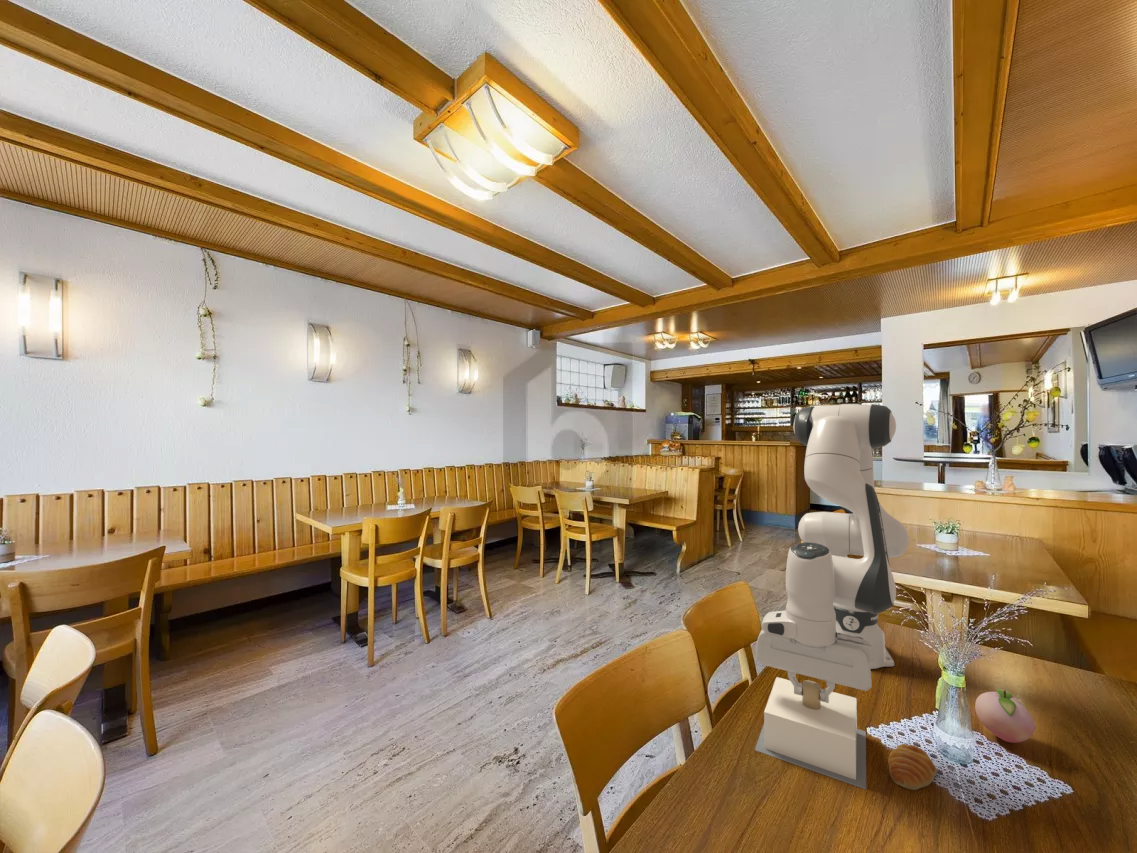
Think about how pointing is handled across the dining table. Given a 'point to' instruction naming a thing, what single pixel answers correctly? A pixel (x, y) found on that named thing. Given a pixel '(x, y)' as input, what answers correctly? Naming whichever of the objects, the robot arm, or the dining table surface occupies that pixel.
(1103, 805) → the dining table surface
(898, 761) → the pastry
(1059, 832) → the dining table surface
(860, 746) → the mat
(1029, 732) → the decorative fruit
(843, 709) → the cover
